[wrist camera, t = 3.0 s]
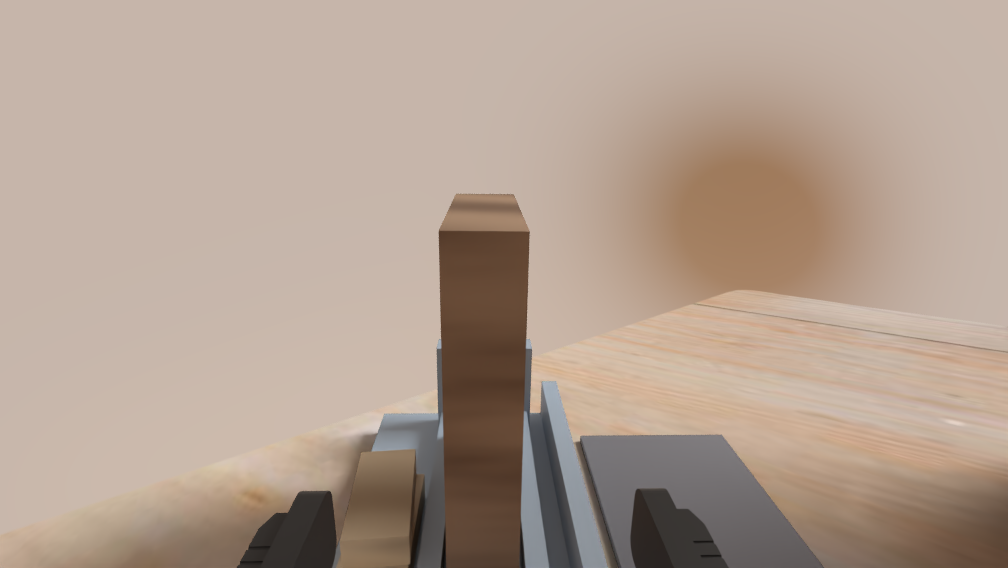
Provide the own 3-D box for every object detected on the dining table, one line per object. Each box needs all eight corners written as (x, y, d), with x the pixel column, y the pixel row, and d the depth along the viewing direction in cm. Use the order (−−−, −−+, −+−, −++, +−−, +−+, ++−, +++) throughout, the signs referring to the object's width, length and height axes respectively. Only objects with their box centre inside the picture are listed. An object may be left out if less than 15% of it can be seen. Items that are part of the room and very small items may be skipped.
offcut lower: (369, 497, 27) (368, 474, 27) (425, 497, 27) (424, 474, 27) (332, 617, 21) (329, 588, 20) (405, 615, 21) (404, 587, 20)
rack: (385, 432, 36) (379, 334, 34) (553, 431, 36) (558, 334, 34) (243, 860, 15) (203, 674, 13) (646, 845, 15) (674, 664, 13)
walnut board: (459, 457, 31) (456, 193, 26) (508, 457, 31) (513, 194, 26) (447, 604, 21) (438, 230, 17) (518, 603, 21) (529, 231, 17)
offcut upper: (363, 476, 27) (361, 452, 26) (416, 472, 27) (415, 448, 27) (342, 570, 21) (339, 541, 21) (410, 564, 21) (408, 535, 21)
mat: (580, 440, 35) (580, 435, 35) (720, 439, 36) (721, 434, 36) (637, 631, 22) (638, 624, 22) (861, 626, 22) (863, 619, 22)
